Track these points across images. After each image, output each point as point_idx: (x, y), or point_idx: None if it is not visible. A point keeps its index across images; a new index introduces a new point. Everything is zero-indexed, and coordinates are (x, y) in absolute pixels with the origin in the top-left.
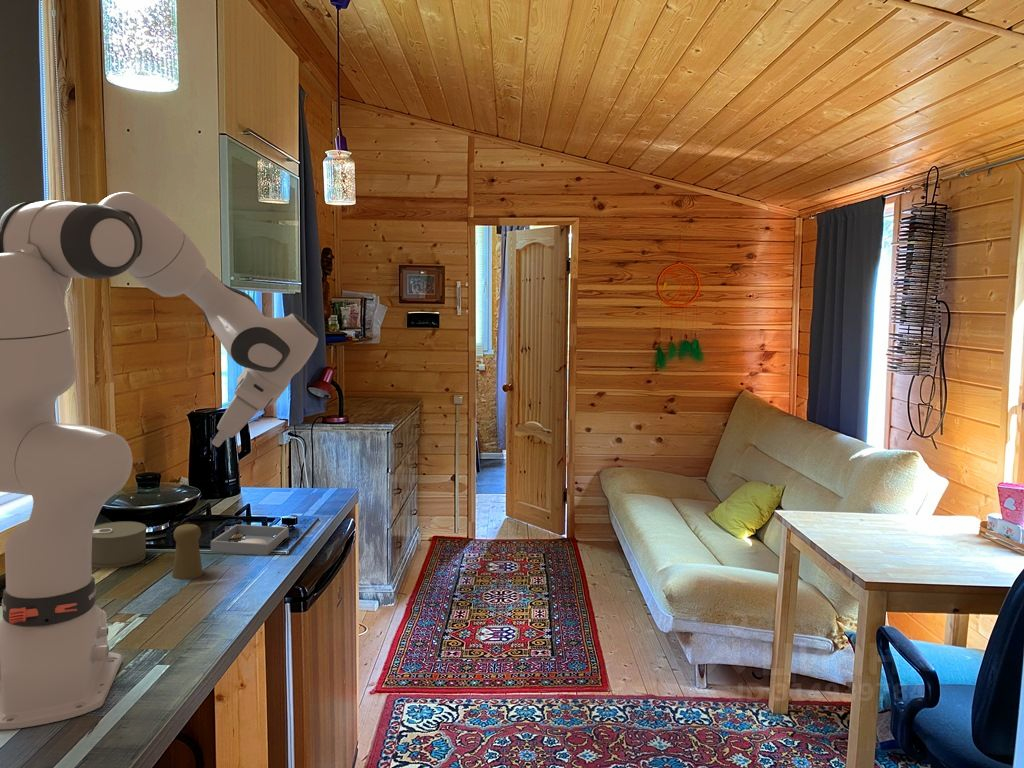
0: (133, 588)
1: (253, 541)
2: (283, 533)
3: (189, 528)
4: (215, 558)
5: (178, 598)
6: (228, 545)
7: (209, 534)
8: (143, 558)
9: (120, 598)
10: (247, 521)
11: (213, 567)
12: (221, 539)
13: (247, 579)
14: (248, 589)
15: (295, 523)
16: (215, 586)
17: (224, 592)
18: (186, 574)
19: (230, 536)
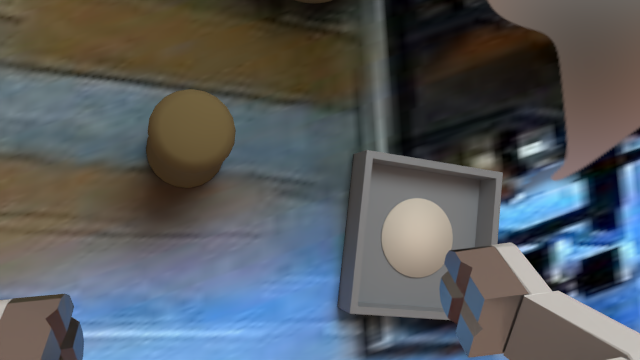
0: (97, 41)
1: (431, 239)
2: None
3: (170, 142)
4: (324, 176)
5: (25, 178)
6: (358, 200)
7: (490, 106)
8: (307, 1)
9: (22, 32)
10: (586, 168)
11: (259, 192)
12: (407, 165)
13: (174, 310)
14: (98, 339)
15: (585, 292)
16: (118, 244)
17: (73, 283)
18: (149, 156)
19: (449, 174)
